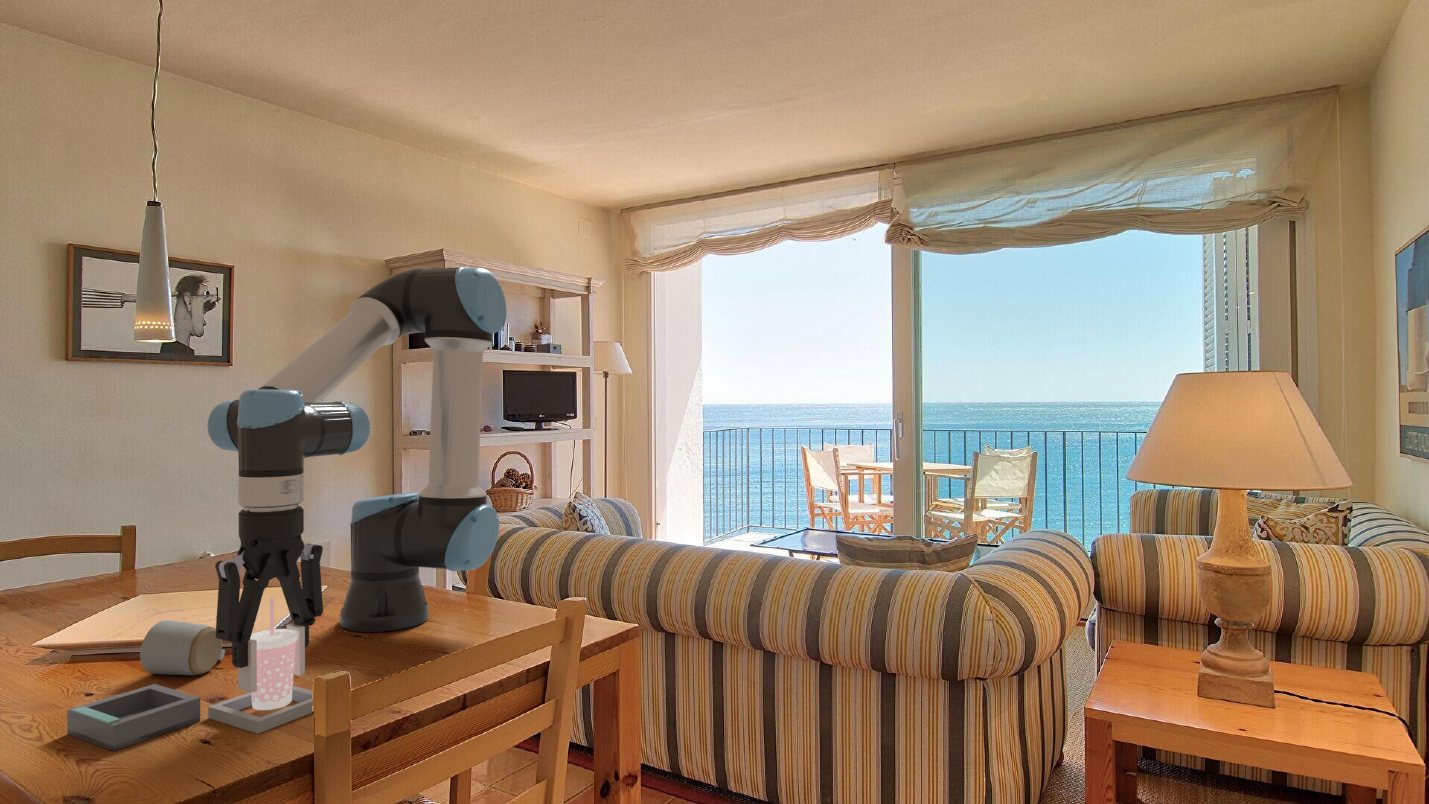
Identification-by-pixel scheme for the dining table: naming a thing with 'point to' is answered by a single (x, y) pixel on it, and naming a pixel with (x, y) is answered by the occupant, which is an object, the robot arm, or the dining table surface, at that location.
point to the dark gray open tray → (133, 716)
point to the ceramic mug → (180, 648)
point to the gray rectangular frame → (234, 717)
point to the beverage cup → (274, 666)
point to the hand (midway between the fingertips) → (272, 681)
